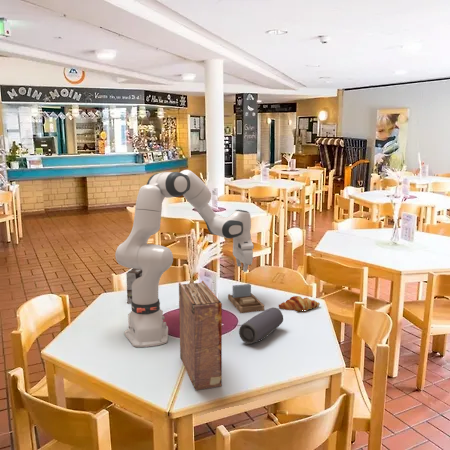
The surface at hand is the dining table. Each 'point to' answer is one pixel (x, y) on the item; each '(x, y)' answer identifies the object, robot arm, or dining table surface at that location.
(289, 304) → the croissant
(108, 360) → the dining table surface
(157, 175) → the robot arm
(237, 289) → the blue-grey square slab
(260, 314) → the bluetooth speaker
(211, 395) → the dining table surface
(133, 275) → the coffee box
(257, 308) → the wooden tray
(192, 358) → the book
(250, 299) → the offcut top
